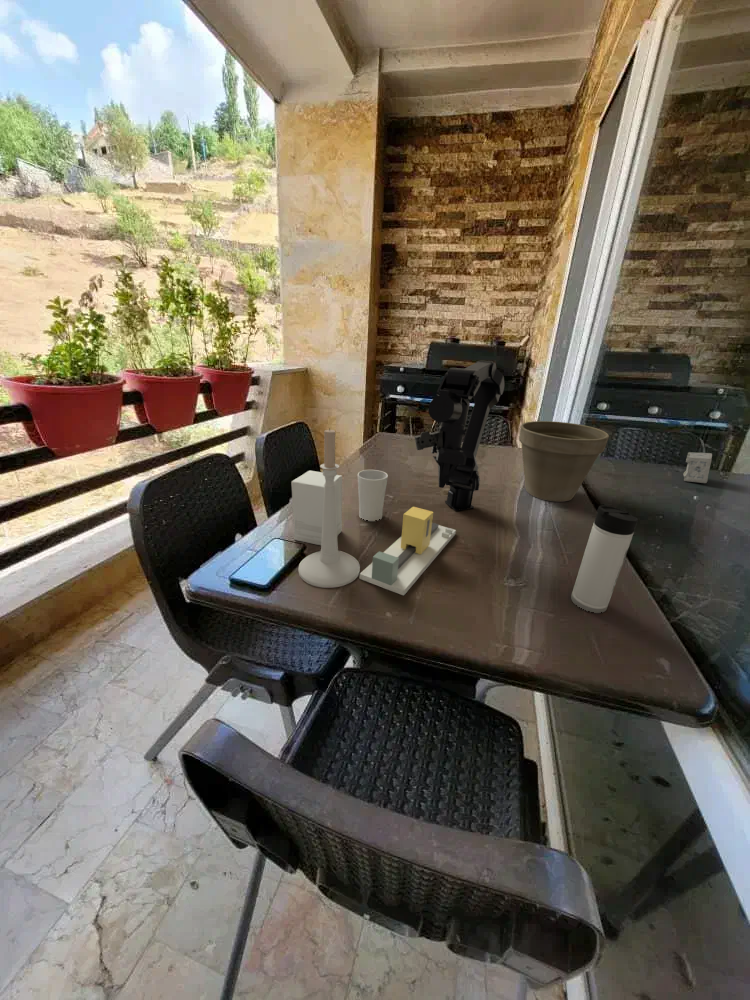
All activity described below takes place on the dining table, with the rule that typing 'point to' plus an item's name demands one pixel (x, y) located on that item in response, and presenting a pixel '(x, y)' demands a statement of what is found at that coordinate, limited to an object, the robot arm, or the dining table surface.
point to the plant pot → (558, 457)
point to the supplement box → (313, 506)
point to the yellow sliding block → (416, 529)
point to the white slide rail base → (405, 562)
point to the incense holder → (697, 467)
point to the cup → (371, 493)
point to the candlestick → (329, 534)
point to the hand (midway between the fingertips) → (440, 487)
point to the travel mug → (603, 558)
